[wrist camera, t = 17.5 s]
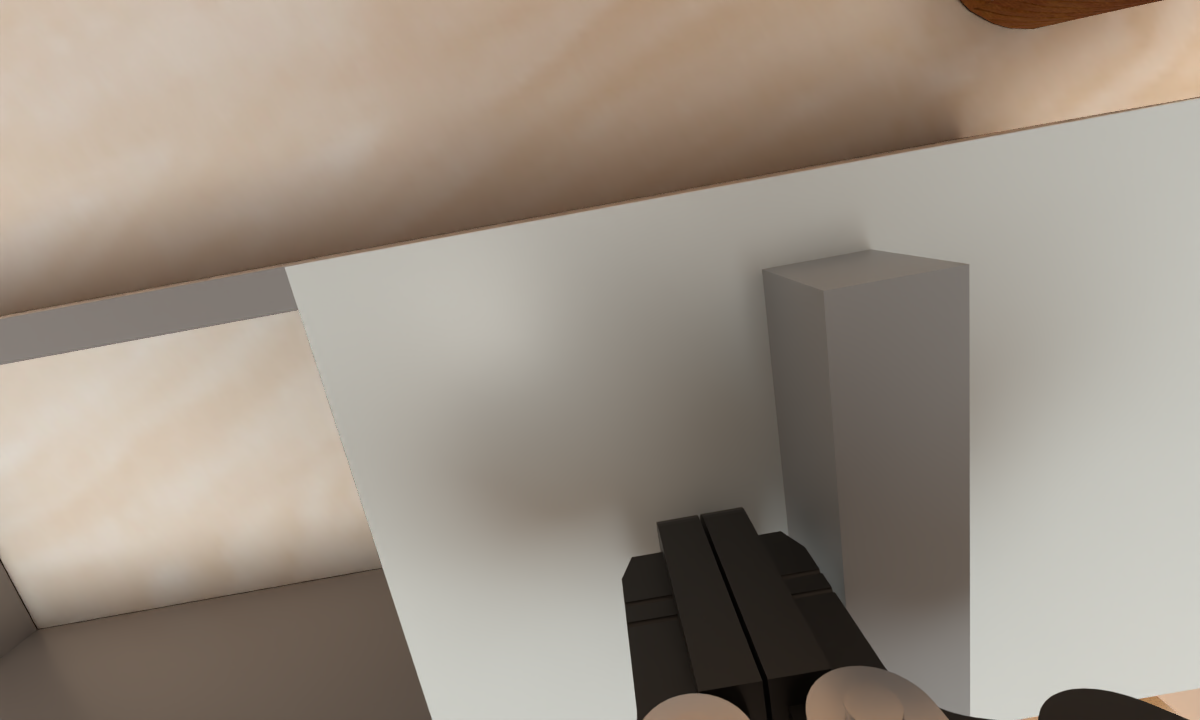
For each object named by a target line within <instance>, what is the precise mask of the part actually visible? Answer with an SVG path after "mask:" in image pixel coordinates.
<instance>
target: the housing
mask: <svg viewBox="0 0 1200 720" xmlns="http://www.w3.org/2000/svg"><path fill="white" fill-rule="evenodd" d="M1196 98H1200V97H1196ZM1190 99H1194V98H1190ZM1184 100H1189V99H1184ZM1179 101H1183V100H1179ZM1173 102H1178V101H1173ZM1173 102H1167V103H1173ZM1167 103H1162V104H1167ZM1162 104H1156V105H1162ZM1156 105H1150V106H1144V107H1139V108H1133V109H1127V110H1121V111H1116V112H1110V113H1104V114H1098V115H1093V116H1087V117H1081V118H1076V119H1070V120H1064V121H1058V122H1053V123H1047V124H1041V125H1035V126H1030V127H1024V128H1018V129H1013V130H1007V131H1001V132H995V133H990V134H984V135H978V136H972V137H967V138H961V139H956V140H950V141H945V142H939V143H934V144H929V145H923V146H918V147H912V148H907V149H902V150H896V151H891V152H885V153H880V154H874V155H869V156H864V157H858V158H853V159H847V160H842V161H837V162H831V163H826V164H820V165H815V166H810V167H804V168H799V169H793V170H788V171H782V172H777V173H772V174H766V175H761V176H755V177H750V178H745V179H739V180H734V181H728V182H723V183H718V184H712V185H707V186H701V187H696V188H691V189H685V190H680V191H674V192H669V193H663V194H658V195H653V196H647V197H642V198H636V199H631V200H626V201H620V202H615V203H609V204H604V205H599V206H593V207H588V208H582V209H577V210H571V211H566V212H561V213H555V214H550V215H544V216H539V217H534V218H528V219H523V220H517V221H512V222H507V223H501V224H496V225H490V226H485V227H480V228H474V229H469V230H463V231H458V232H452V233H447V234H442V235H436V236H431V237H425V238H420V239H415V240H409V241H404V242H398V243H393V244H388V245H382V246H377V247H371V248H366V249H360V250H355V251H350V252H344V253H339V254H333V255H328V256H323V257H317V258H312V259H306V260H301V261H296V262H290V263H285V264H279V265H274V266H269V267H263V268H258V269H252V270H247V271H241V272H236V273H231V274H225V275H220V276H214V277H209V278H204V279H198V280H193V281H187V282H182V283H177V284H171V285H166V286H160V287H155V288H149V289H144V290H139V291H133V292H128V293H122V294H117V295H112V296H106V297H101V298H95V299H90V300H85V301H79V302H74V303H68V304H63V305H57V306H52V307H47V308H41V309H36V310H30V311H25V312H20V313H14V314H9V315H3V316H0V365H2V364H7V363H13V362H18V361H24V360H29V359H34V358H40V357H45V356H51V355H56V354H62V353H67V352H72V351H78V350H83V349H89V348H94V347H100V346H105V345H111V344H116V343H121V342H127V341H132V340H138V339H143V338H149V337H154V336H160V335H165V334H170V333H176V332H181V331H187V330H192V329H198V328H203V327H208V326H214V325H219V324H225V323H230V322H236V321H241V320H247V319H252V318H257V317H263V316H268V315H274V314H279V313H285V312H290V311H296V310H298V307H297V304H296V301H295V298H294V295H293V292H292V289H291V286H290V283H289V280H288V276H287V273H286V270H285V267H288V266H293V265H298V264H302V263H307V262H312V261H317V260H323V259H328V258H334V257H339V256H344V255H350V254H355V253H361V252H366V251H372V250H377V249H382V248H388V247H393V246H399V245H404V244H409V243H415V242H420V241H426V240H431V239H436V238H442V237H447V236H453V235H458V234H464V233H469V232H474V231H480V230H485V229H491V228H496V227H501V226H507V225H512V224H518V223H523V222H529V221H534V220H539V219H545V218H550V217H556V216H561V215H566V214H572V213H577V212H583V211H588V210H593V209H599V208H604V207H610V206H615V205H621V204H626V203H631V202H637V201H642V200H648V199H653V198H658V197H664V196H669V195H675V194H680V193H685V192H691V191H696V190H702V189H707V188H713V187H718V186H723V185H729V184H734V183H740V182H745V181H750V180H756V179H761V178H767V177H772V176H777V175H783V174H788V173H794V172H799V171H805V170H810V169H815V168H821V167H826V166H832V165H837V164H842V163H848V162H853V161H859V160H864V159H869V158H875V157H880V156H886V155H891V154H897V153H902V152H907V151H913V150H918V149H924V148H929V147H934V146H940V145H945V144H951V143H956V142H961V141H967V140H972V139H978V138H983V137H989V136H994V135H999V134H1005V133H1010V132H1016V131H1021V130H1026V129H1032V128H1037V127H1043V126H1048V125H1053V124H1059V123H1064V122H1070V121H1075V120H1081V119H1086V118H1091V117H1097V116H1102V115H1108V114H1113V113H1118V112H1124V111H1129V110H1135V109H1140V108H1146V107H1151V106H1156ZM0 720H432V718H431V715H430V712H429V709H428V706H427V702H426V699H425V696H424V693H423V690H422V687H421V684H420V681H419V678H418V675H417V672H416V669H415V666H414V663H413V660H412V656H411V653H410V650H409V647H408V644H407V641H406V638H405V635H404V632H403V629H402V626H401V623H400V620H399V617H398V614H397V610H396V607H395V604H394V601H393V598H392V595H391V592H390V589H389V586H388V583H387V580H386V577H385V574H384V571H383V568H382V569H376V570H370V571H365V572H359V573H354V574H348V575H342V576H337V577H331V578H325V579H320V580H314V581H309V582H303V583H297V584H292V585H286V586H281V587H275V588H269V589H264V590H258V591H253V592H247V593H241V594H236V595H230V596H224V597H219V598H213V599H208V600H202V601H196V602H191V603H185V604H180V605H174V606H168V607H163V608H157V609H152V610H146V611H140V612H135V613H129V614H124V615H118V616H112V617H107V618H101V619H95V620H90V621H84V622H79V623H73V624H67V625H62V626H56V627H51V628H45V629H39V630H37V629H36V627H35V625H34V624H33V622H32V620H31V618H30V616H29V614H28V612H27V611H26V609H25V607H24V605H23V603H22V601H21V599H20V597H19V596H18V594H17V592H16V590H15V588H14V586H13V584H12V583H11V581H10V579H9V577H8V575H7V573H6V571H5V569H4V568H3V566H2V564H1V562H0Z"/></svg>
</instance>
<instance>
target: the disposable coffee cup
mask: <svg viewBox="0 0 1200 720" xmlns="http://www.w3.org/2000/svg"><path fill="white" fill-rule="evenodd" d="M961 1H962V2H963V3H964V5H965V6H966V7H967V8H968V9H969V10H970V11H972V12H974V13H975V14H977V15H979V16H981V17H983V18H985V19H986V20H988V21H990V22H992V23H994V24H997V25H1001V26H1004V27H1008V28H1021V29H1034V28H1039V27H1043V26H1048V25H1053V24H1057V23H1061V22H1066V21H1070V20H1075V19H1079V18H1084V17H1088V16H1093V15H1097V14H1102V13H1106V12H1111V11H1116V10H1120V9H1125V8H1129V7H1134V6H1139V5H1143V4H1148V3H1152V2H1157V1H1162V0H961Z"/></svg>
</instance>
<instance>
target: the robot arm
mask: <svg viewBox="0 0 1200 720" xmlns="http://www.w3.org/2000/svg"><path fill="white" fill-rule="evenodd" d="M656 525H657V532H658V538H659V544H660V550H661V552H658V553H653V554H647V555H641V556H635V557H632V558H631V560H630V562H629V564H628V566H627V568H626V571H625V573H624V575H623V577H622V586H623V595H624V603H625V613H626V621H627V630H628V639H629V647H630V656H631V665H632V673H633V682H634V691H635V700H636V708H637V720H993V719H984V718H976V717H971V716H965V715H960V714H957V713H953V712H950V711H947V710H944V709H942V708H939V707H938V706H937V705H936V703H935V702H934V701H933V700H932V699H931V698H930V697H929V696H928V695H927V694H926V693H925V692H924V691H923V690H921V689H920V688H919V687H918V686H916V685H915V684H913V683H912V682H910V681H909V680H907V679H905V678H903V677H901V676H899V675H897V674H895V673H892V672H889V671H888V670H887V669H886V668H885V666H884V665H883V663H882V662H881V660H880V659H879V657H878V656H877V654H876V653H875V651H874V650H873V648H872V647H871V645H870V644H869V642H868V641H867V639H866V638H865V636H864V635H863V633H862V632H861V630H860V629H859V627H858V626H857V624H856V623H855V621H854V620H853V618H852V617H851V615H850V614H849V612H848V611H847V609H846V608H845V606H844V605H843V603H842V602H841V600H840V599H839V597H838V596H837V594H836V593H835V592H833V590H832V587H831V585H830V584H829V582H828V581H827V579H826V578H825V576H824V575H823V573H820V569H819V567H818V566H817V564H816V563H815V561H814V560H813V558H812V557H811V555H810V554H809V552H808V551H807V549H806V548H805V547H804V546H803V545H801V544H800V543H798V542H797V541H795V540H794V539H792V538H790V537H789V536H787V535H786V534H784V533H783V532H781V531H778V532H772V533H767V534H761V535H758V533H757V531H756V530H755V528H754V526H753V524H752V522H751V521H750V519H749V517H748V515H747V513H746V511H745V510H744V508H743V507H738V508H732V509H727V510H721V511H715V512H710V513H704V514H700V519H699V516H698V515H693V516H688V517H682V518H676V519H670V520H665V521H659V522H656ZM1038 720H1188V719H1186V718H1184V717H1181V716H1179V715H1176V714H1174V713H1171V712H1169V711H1166V710H1164V709H1161V708H1159V707H1157V706H1154V705H1152V704H1149V703H1147V702H1144V701H1141V700H1139V699H1136V698H1133V697H1130V696H1127V695H1123V694H1120V693H1116V692H1112V691H1106V690H1100V689H1088V688H1080V689H1070V690H1065V691H1061V692H1059V693H1057V694H1054V695H1052V696H1051V697H1050V698H1048V699H1047V700H1046V701H1045V702H1044V704H1043V705H1042V707H1041V709H1040V713H1039V716H1038Z"/></svg>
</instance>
